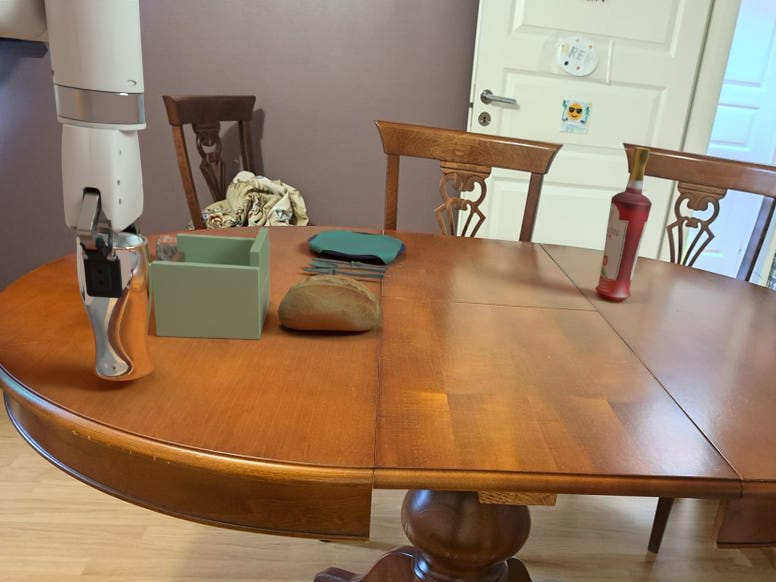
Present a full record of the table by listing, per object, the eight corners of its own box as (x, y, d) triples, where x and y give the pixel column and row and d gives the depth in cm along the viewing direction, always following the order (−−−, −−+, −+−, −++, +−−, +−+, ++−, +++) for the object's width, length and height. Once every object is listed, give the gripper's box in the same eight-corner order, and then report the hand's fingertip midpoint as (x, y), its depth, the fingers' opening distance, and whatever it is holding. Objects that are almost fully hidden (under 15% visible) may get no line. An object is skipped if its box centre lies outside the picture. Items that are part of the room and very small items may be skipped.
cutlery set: (410, 246, 147) (411, 236, 146) (393, 285, 119) (394, 273, 118) (320, 235, 146) (320, 225, 145) (282, 273, 119) (282, 260, 118)
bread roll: (384, 343, 95) (388, 289, 91) (275, 340, 91) (275, 284, 88) (379, 319, 103) (382, 269, 100) (279, 315, 100) (279, 264, 96)
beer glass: (164, 358, 79) (157, 234, 73) (148, 384, 72) (139, 251, 66) (100, 354, 77) (87, 227, 71) (78, 381, 71) (62, 244, 65)
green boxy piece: (156, 336, 88) (149, 247, 83) (182, 297, 102) (177, 219, 97) (259, 339, 91) (258, 254, 86) (270, 301, 105) (269, 226, 100)
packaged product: (152, 244, 109) (156, 229, 117) (154, 272, 111) (158, 256, 119) (266, 246, 115) (262, 232, 124) (267, 273, 117) (263, 257, 126)
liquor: (586, 291, 130) (614, 144, 119) (618, 292, 133) (649, 147, 122) (603, 304, 124) (635, 149, 113) (637, 304, 127) (671, 153, 116)
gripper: (88, 97, 71) (103, 258, 78) (19, 110, 55) (45, 310, 62) (165, 106, 72) (172, 263, 79) (117, 122, 57) (132, 315, 64)
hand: (116, 283), depth 71 cm, fingers closed on beer glass, 7 cm apart
